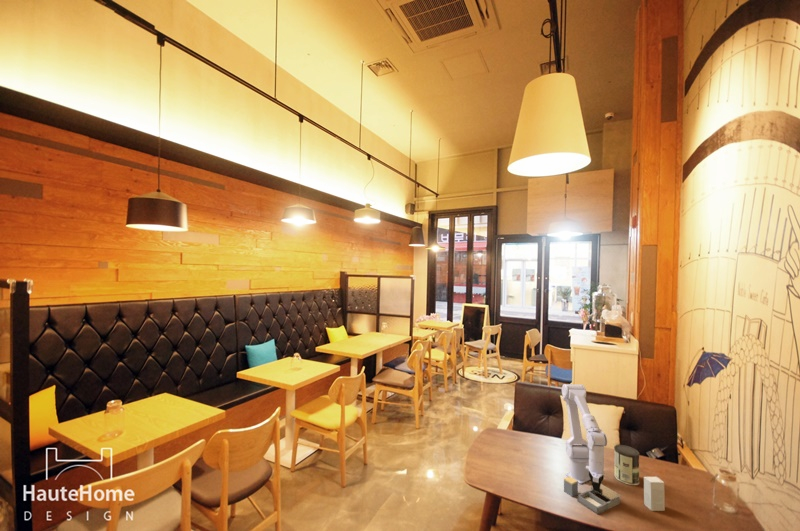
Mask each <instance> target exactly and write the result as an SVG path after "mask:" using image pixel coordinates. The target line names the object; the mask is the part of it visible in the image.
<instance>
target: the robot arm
mask: <svg viewBox="0 0 800 531" xmlns="http://www.w3.org/2000/svg"><path fill="white" fill-rule="evenodd" d="M561 394H562V400H563V402H565V404H566V410H567V418H568V425H569V431H570V437H569V438H568V439H567V440H566V441H565V452H566V456H567V457H568V458H569V472H567V473H565V476H566V477H569V476H570V477H572V478H574V479H575V480H577V481H578V484H584V483H586V482H589V481H591V485H592V486H591V487H593V490H595V491H598V492H599V489H600V485H601V484H602V483H603V482H604V480H605V479H604V475H605V470H604V469H605V467H604V466H605V447H606V446H607V445H608V439H607V436H606V433H605V432H604V431H603V430H602V429H601V428H600V426H599V425H598V422H597V420H596V418H595V416H594V415H593V414H591V412H590V409H589V405H588V403H587V399H586V397H587V390H586V387H585V386H584V384H566V383H563V384H562V386H561ZM579 412H580V414H581V415H582V417H581V420H580V414H579ZM581 422H582V424H583V427H584V429H585V431H586V440H587V441H586V440H585V439H584V438H583V432H582V427H581Z"/></svg>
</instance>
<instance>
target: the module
mask: <svg viewBox="0 0 800 531" xmlns="http://www.w3.org/2000/svg"><path fill="white" fill-rule="evenodd" d="M578 486H579V483H578V481H577V480H575V479H574V478H572V477H570V476H569V477H568V476H566V477H564V478H563V492H564V493H566V494H567V495H568V496H570V497H571V498H573V497H575V496H578V495H579V487H578Z"/></svg>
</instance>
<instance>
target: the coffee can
mask: <svg viewBox="0 0 800 531" xmlns="http://www.w3.org/2000/svg"><path fill="white" fill-rule="evenodd" d="M613 450H614V475H613V476H614V477H615V478H616V480H617V481H618V482H621V483H623V484H626V485H629V486H638V485H640V452H639V450H637V449H636V448H634V447H632V446H629V445H625V444H616V445H614V447H613Z"/></svg>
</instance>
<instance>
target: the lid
mask: <svg viewBox="0 0 800 531" xmlns="http://www.w3.org/2000/svg"><path fill="white" fill-rule="evenodd" d="M590 489H592V490H593V486H590ZM594 491H595V490H594ZM595 492H597V493H598V495H599V496H600V495H601V496H602V497H604V498H606V499H607V500H608V501H612V500H614V499H616V498H618V497H620V498H621V497H622V496H621V494H620V493H618V492H616V491H614V489H611V488H610V487H608V486H606V485H604V484H603V483H601V485H600V489H599V492H598V491H595Z"/></svg>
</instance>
